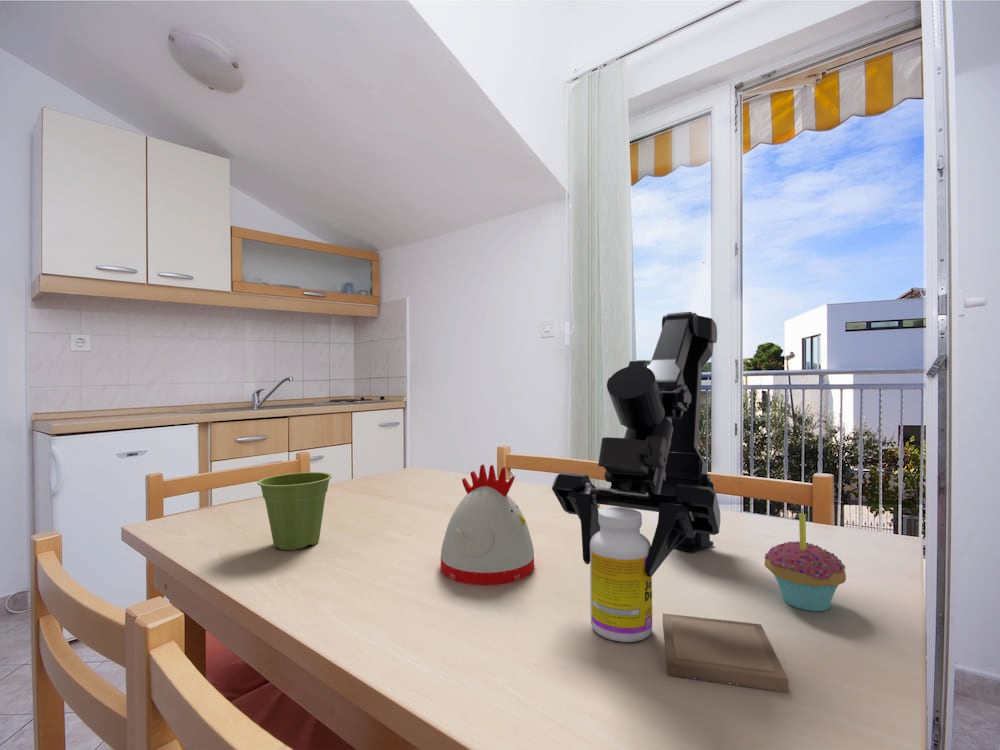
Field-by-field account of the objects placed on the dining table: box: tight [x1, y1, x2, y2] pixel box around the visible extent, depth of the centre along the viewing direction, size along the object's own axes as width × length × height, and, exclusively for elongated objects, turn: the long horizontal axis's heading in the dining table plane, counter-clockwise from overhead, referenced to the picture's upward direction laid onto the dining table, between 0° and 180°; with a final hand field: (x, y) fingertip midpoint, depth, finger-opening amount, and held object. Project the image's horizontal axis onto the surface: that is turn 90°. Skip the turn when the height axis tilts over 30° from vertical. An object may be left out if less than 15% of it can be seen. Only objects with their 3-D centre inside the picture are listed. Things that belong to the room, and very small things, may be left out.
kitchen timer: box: [440, 464, 535, 586], centre depth 74 cm, size 14×14×15 cm
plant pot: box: [256, 471, 333, 551], centre depth 85 cm, size 12×12×11 cm
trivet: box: [662, 613, 789, 693], centre depth 49 cm, size 10×10×1 cm
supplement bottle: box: [589, 506, 653, 643], centre depth 55 cm, size 7×7×13 cm
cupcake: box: [764, 507, 847, 612], centre depth 61 cm, size 9×8×12 cm
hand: (615, 568), depth 53 cm, fingers closed on supplement bottle, 7 cm apart
